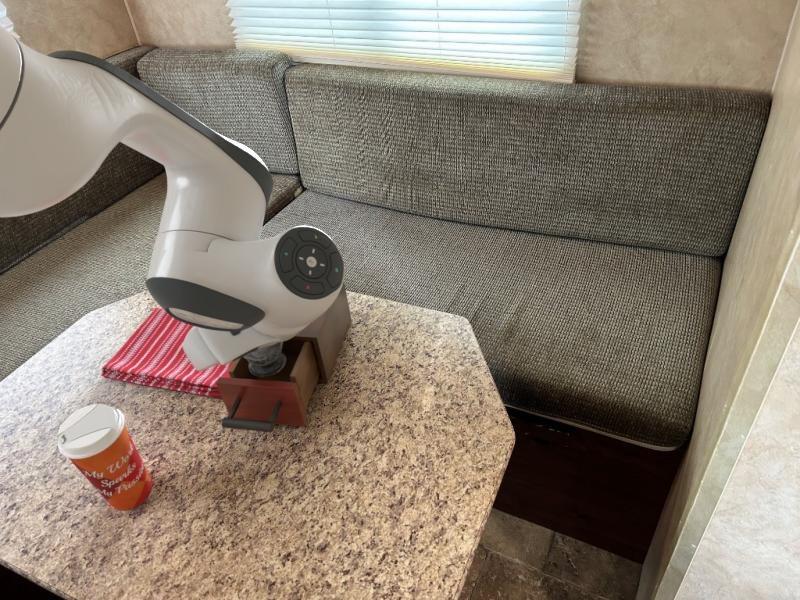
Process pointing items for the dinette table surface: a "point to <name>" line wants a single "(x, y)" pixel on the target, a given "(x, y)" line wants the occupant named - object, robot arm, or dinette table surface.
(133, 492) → the paper cup
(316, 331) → the cabinet
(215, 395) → the dish towel
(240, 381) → the drawer
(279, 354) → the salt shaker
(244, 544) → the dinette table surface
